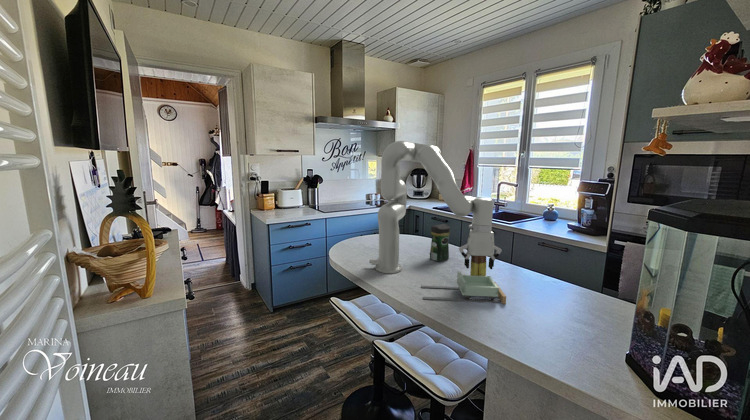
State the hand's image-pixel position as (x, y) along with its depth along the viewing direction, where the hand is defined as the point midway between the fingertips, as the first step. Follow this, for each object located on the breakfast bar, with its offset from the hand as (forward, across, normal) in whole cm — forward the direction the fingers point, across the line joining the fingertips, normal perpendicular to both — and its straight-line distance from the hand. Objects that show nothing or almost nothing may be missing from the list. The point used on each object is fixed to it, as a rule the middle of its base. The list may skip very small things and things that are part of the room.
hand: (478, 267), depth 126 cm
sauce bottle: (+8, 0, 0) cm, 8 cm away
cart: (+7, -3, -10) cm, 13 cm away
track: (+7, -9, -10) cm, 15 cm away
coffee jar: (+8, -12, +30) cm, 33 cm away
